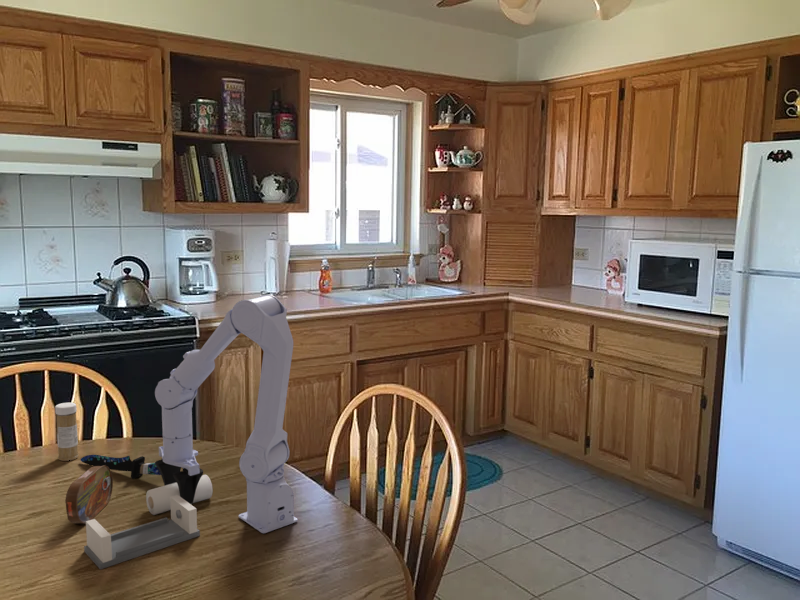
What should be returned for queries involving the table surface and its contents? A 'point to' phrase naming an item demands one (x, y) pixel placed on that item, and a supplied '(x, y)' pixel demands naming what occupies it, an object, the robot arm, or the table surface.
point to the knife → (123, 464)
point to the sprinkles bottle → (67, 431)
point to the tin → (89, 494)
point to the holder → (141, 536)
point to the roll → (161, 496)
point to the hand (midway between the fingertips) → (179, 498)
